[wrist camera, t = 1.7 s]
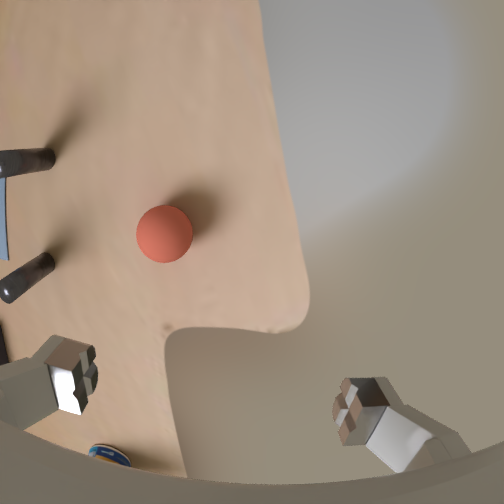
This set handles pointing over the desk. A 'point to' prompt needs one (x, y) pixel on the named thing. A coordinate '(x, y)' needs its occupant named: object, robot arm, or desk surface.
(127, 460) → the beverage bottle
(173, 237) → the ball
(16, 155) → the inner post
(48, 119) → the desk surface
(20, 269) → the outer post
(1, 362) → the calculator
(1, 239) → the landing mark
